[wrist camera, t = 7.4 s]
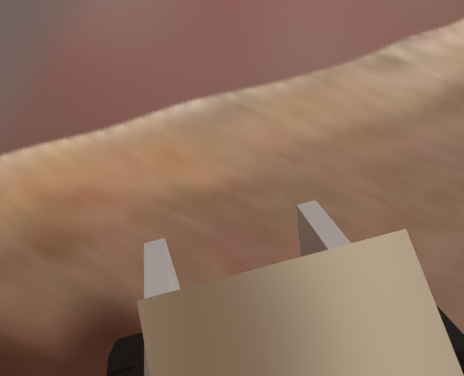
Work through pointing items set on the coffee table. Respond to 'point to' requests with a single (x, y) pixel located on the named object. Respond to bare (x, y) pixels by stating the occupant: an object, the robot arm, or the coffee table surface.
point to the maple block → (305, 319)
